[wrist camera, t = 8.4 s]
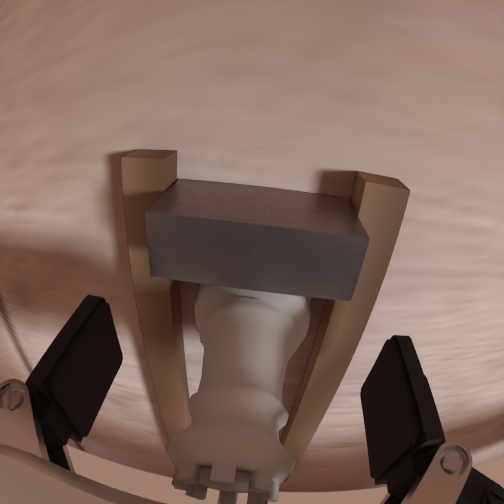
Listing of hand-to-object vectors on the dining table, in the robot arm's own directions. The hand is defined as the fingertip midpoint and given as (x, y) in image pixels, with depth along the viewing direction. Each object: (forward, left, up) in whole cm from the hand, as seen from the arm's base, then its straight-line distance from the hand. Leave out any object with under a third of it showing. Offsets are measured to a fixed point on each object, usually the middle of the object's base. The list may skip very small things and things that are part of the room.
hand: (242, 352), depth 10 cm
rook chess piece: (0, 0, -3) cm, 3 cm away
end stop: (0, -3, -3) cm, 5 cm away
